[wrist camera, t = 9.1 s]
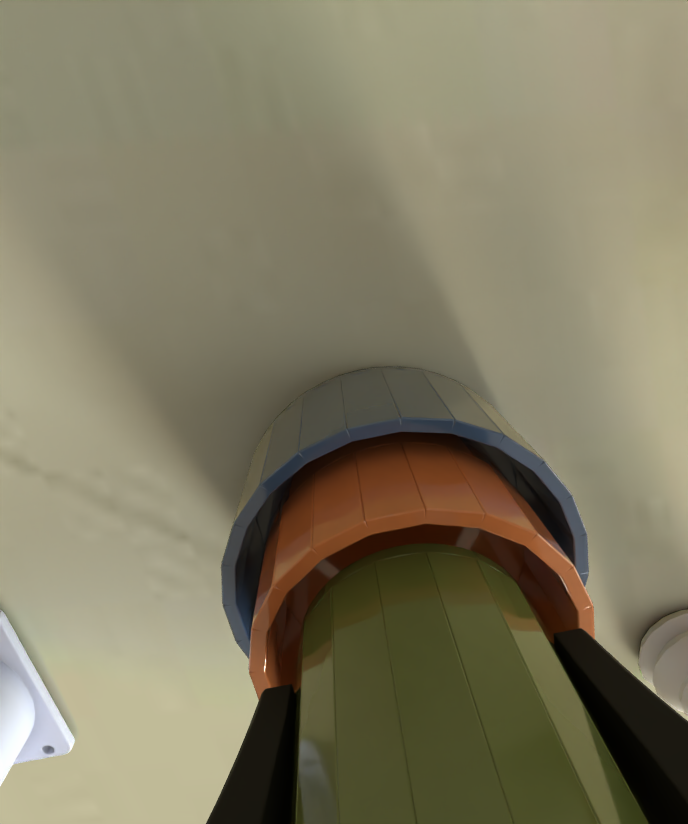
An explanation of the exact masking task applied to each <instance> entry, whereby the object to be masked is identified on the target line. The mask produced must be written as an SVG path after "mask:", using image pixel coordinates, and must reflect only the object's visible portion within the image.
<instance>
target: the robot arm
mask: <svg viewBox="0 0 688 824" xmlns="http://www.w3.org/2000/svg"><path fill="white" fill-rule="evenodd" d="M553 634H554V644H555V646H556V648H557V650H558V651H559V653H560V655H561V657H562V659H563V660H564V662H565V664H566V666H567V667H568V669H569V671H570V673H571V675H572V676H573V678H574V680H575V682H576V684H577V685H578V687H579V689H580V690H581V692H582V694H583V696H584V697H585V699H586V701H587V703H588V704H589V706H590V708H591V710H592V711H593V713H594V715H595V717H596V719H597V720H598V722H599V724H600V726H601V728H602V729H603V731H604V733H605V735H606V736H607V738H608V740H609V742H610V744H611V745H612V747H613V749H614V751H615V752H616V754H617V756H618V758H619V760H620V761H621V763H622V765H623V767H624V769H625V770H626V772H627V774H628V776H629V777H630V779H631V781H632V783H633V785H634V786H635V788H636V790H637V792H638V793H639V795H640V797H641V799H642V801H643V802H644V804H645V806H646V808H647V810H648V811H649V813H650V815H651V817H652V818H653V820H654V822H655V824H688V721H687V720H686V719H684V718H683V717H682V716H681V715H679V714H678V713H677V712H676V711H675V710H674V709H672V708H671V707H670V706H669V705H668V704H666V703H665V702H664V701H663V700H662V699H660V698H659V697H658V696H657V695H656V694H654V693H653V692H652V691H651V690H650V689H649V688H647V687H646V686H645V685H644V684H643V683H642V682H641V681H639V680H638V679H637V678H636V677H635V676H634V675H633V674H632V673H630V672H629V671H628V670H627V669H626V668H625V667H624V666H623V665H622V664H620V663H619V662H618V661H617V660H616V659H615V658H614V657H613V656H612V655H611V654H610V653H609V652H607V651H606V650H605V649H604V648H603V647H602V646H601V645H600V644H599V643H598V642H597V641H596V640H595V639H594V638H593V637H592V636H590V635H589V634H588V633H587V632H586V631H585V630H583V629H582V628H579V629H574V630H569V631H564V632H558V633H553ZM294 699H295V693H294V689H293V686H292V684H288V685H283V686H277V687H272V688H267V689H265V690H264V691H263V692H262V694H261V696H260V699H259V702H258V705H257V707H256V710H255V713H254V715H253V718H252V721H251V723H250V726H249V728H248V731H247V733H246V736H245V738H244V741H243V743H242V746H241V748H240V751H239V753H238V755H237V758H236V760H235V762H234V764H233V767H232V769H231V771H230V774H229V776H228V778H227V780H226V783H225V785H224V787H223V789H222V792H221V794H220V796H219V798H218V800H217V802H216V804H215V806H214V808H213V811H212V813H211V815H210V817H209V819H208V821H207V823H206V824H287V816H288V798H289V781H290V763H291V748H292V735H293V717H294ZM74 742H75V740H74V737H73V735H72V734H71V732H70V730H69V728H68V726H67V725H66V723H65V721H64V719H63V717H62V716H61V714H60V712H59V710H58V708H57V707H56V705H55V703H54V701H53V699H52V698H51V696H50V694H49V692H48V690H47V689H46V687H45V685H44V683H43V682H42V680H41V678H40V676H39V674H38V673H37V671H36V669H35V667H34V665H33V664H32V662H31V660H30V658H29V656H28V655H27V653H26V651H25V649H24V647H23V646H22V644H21V642H20V640H19V638H18V637H17V635H16V633H15V631H14V629H13V628H12V626H11V624H10V622H9V621H8V619H7V617H6V615H5V613H4V612H3V611H2V610H1V609H0V786H1V784H2V782H3V780H4V779H5V777H6V775H7V773H8V772H9V770H10V768H11V767H12V765H13V764H17V763H22V762H27V761H32V760H38V759H43V758H48V757H54V756H59V755H64V754H66V753H69V752H70V751H71V749H72V747H73V745H74Z"/></svg>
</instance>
